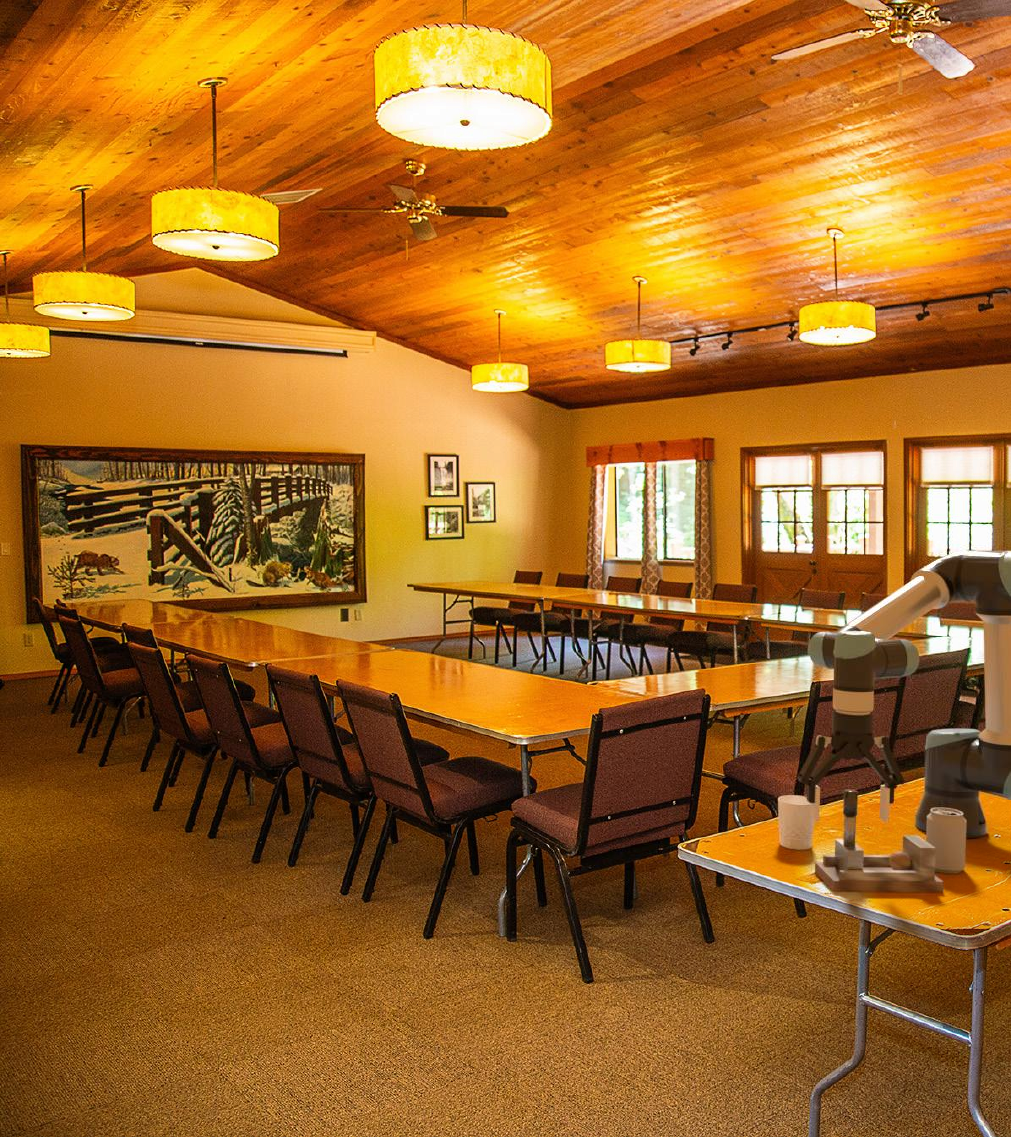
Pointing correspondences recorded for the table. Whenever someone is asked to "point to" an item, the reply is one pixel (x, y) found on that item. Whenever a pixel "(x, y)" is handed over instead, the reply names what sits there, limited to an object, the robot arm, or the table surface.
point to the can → (947, 839)
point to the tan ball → (899, 861)
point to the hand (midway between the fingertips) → (849, 819)
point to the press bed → (886, 871)
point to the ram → (849, 836)
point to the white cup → (795, 822)
